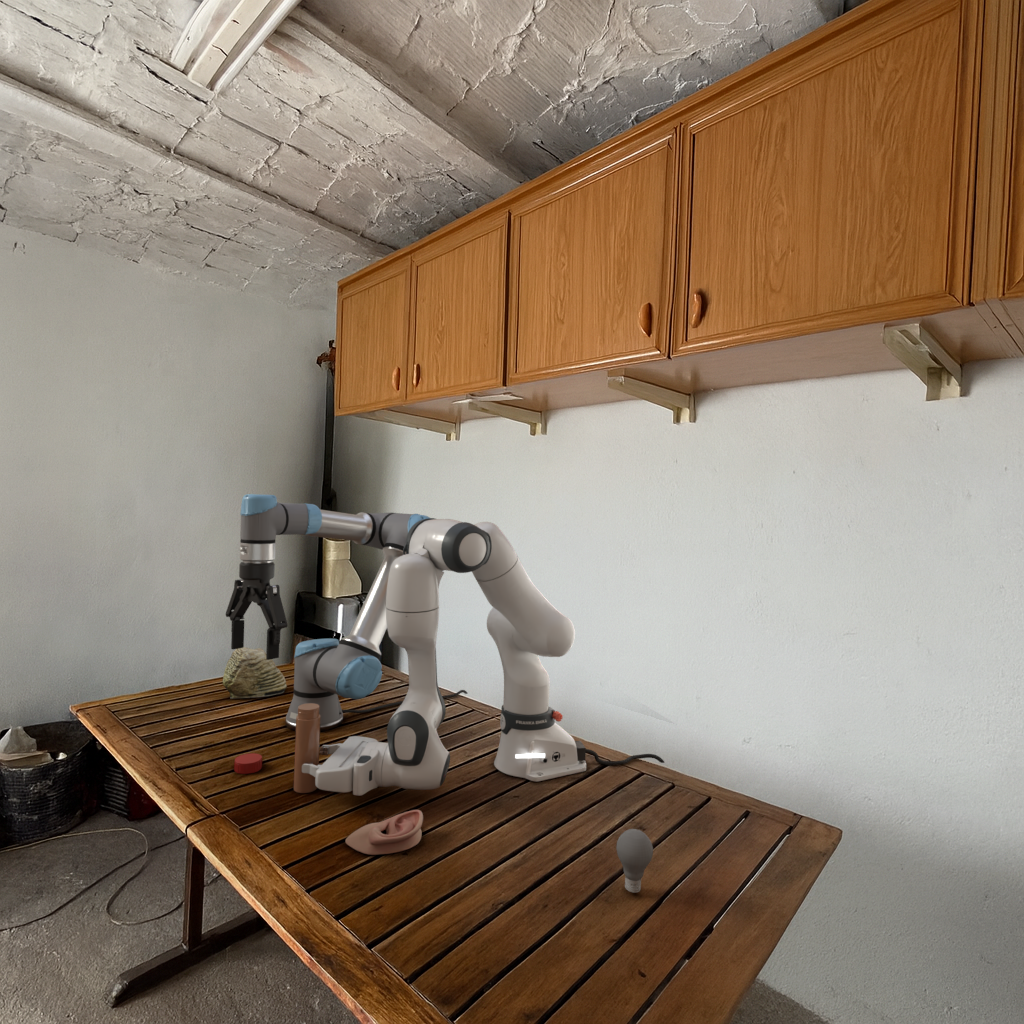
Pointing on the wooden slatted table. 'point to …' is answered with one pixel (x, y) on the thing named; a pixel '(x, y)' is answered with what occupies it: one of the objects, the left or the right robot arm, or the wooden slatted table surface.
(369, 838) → the anatomical model
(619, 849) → the light bulb
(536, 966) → the wooden slatted table surface
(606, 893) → the wooden slatted table surface
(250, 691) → the fossil
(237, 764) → the lid
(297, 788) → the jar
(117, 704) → the wooden slatted table surface
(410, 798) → the wooden slatted table surface
